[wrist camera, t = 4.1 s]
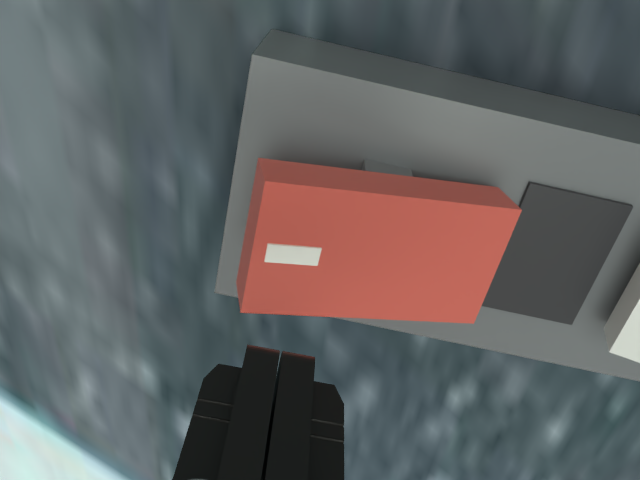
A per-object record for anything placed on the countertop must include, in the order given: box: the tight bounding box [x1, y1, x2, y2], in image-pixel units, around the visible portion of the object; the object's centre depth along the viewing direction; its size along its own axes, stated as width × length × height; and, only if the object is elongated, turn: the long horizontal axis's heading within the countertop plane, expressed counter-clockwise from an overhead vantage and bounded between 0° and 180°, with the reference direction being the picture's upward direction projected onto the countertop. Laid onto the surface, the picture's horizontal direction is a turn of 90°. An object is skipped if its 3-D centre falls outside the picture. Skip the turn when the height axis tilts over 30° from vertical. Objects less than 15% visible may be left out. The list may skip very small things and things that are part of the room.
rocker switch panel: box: [214, 29, 640, 381], centre depth 23 cm, size 23×9×6 cm, turn 78°
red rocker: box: [236, 158, 522, 324], centre depth 19 cm, size 8×4×2 cm, turn 78°
